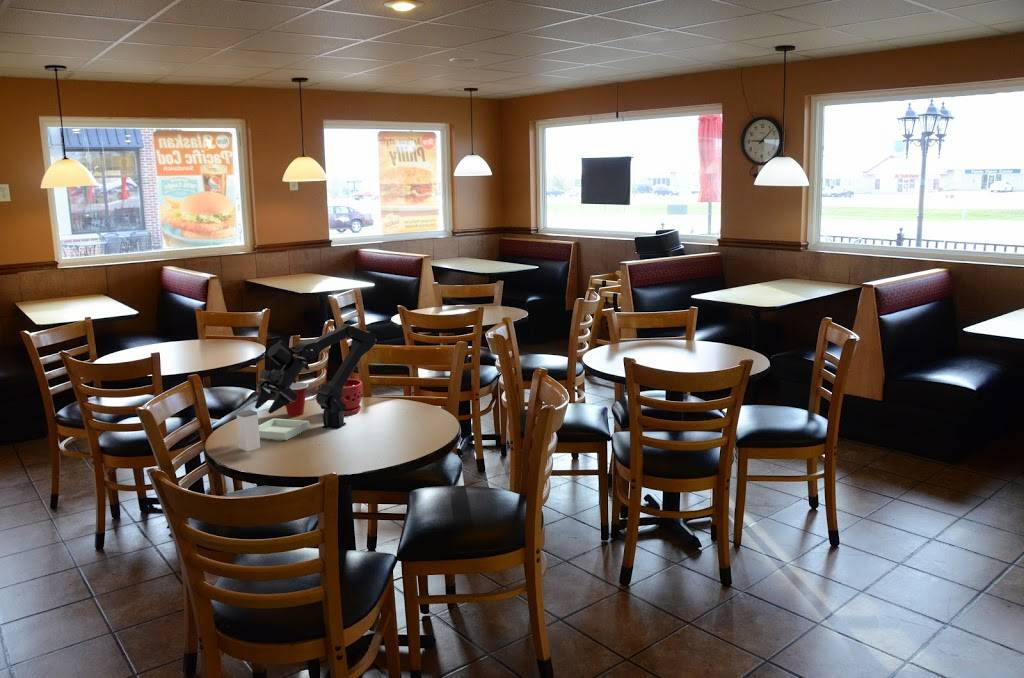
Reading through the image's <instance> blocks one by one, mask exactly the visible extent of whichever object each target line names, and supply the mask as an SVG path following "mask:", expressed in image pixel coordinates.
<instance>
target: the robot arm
mask: <svg viewBox="0 0 1024 678" xmlns="http://www.w3.org/2000/svg"><path fill="white" fill-rule="evenodd" d="M346 338H348V339H350V340H351V343H350V344H351V345H350V350H349V351H348V353H347V355H346V356H345V358H344V359H343V361H342V363H341V364H340V366H339V368H338V369H337V371H336V373H335V374H334V375H333V377H332V378H331V380H330V381H329V382H330V383H329V382H328V383H325V382H323V383H322V384H321V385H320V387H319V389H318V390H317V391H316V396H315V399H316V403H317V404H318V406H319V407H320V409H321V410H323V414H322V423H323V425H322V427H321V428H322V429H336V430H337V429H340V428H342V427H344V426H345V425H347V422H345V421H344V420H345V419H344V415H343V411H344V410H345V408H346V404H344V403H343V402H342V401H341V400H340V399H341V397H342V388H343V387H345V386H344V385H345V383H346V381H347V380H348V379H350V377H351V375H352V374H353V372H354V370H355V368H356V367H357V365H358V364H359V362H360V361H361V359H362V357H363V356H364V355H365V354H367V353H369V352H370V351H371V350H372V348H373V347H374V346H375V345H376V344H377V343H376V342H377V337H376V334H375V333H374V332H373V331H368V330H363V329H360V328H359V327H355V326H354V325H351V324H348V323H347V324H346V323H343V324H342V325H341V326H339V327H337V328H335V329H333V330H331V331H328V332H326V333H325V334H322V335H321V336H319V337H316V338H312V339H306V340H303V341H299V342H297V343H296V344H295V345H294V346H290V347H289V346H288V345H287V344H286V343H285V341H283V340H278V342H276V343H274V344H273V345H271V346H270V347H269V349H268V350H267V352H266V353H267V354H266V355H267V356H268V357H269V358H270V359H272V360H273V361H274V362H275V363H276V364H277V365H278V366H283V367H282V368H281V370H280V369H272V370H267V369H264V368H261V370H260V373H259V376H258V378H259V380H258V381H257V382H256V385H257V389H258V396H257V399H256V402H255V405H254V408H255V409H256V410H258V409H260V408H261V407H262V406H263V405H265V403H266V402H268V401H270V400H271V399H272V398H273V397H274V396H273V395H275V399H274V400H273V402H272V404H271V405H270V407H269V409H268V410H267V413H268V414H273V413H275V412H276V411H278V410H279V409H281V408H283V407H286V406H285V405H287V404H289V403H292V402H291V401H293V402H295V401H296V399H297V398H298V394H297V393H296V392H295V391H293V390H292V389H291V388H290V386H291V384H292V383H296V382H298V381H297V377H298V376H299V375H300V373H301V372H302V370H304V371H309V370H310V367H309V362H307V361H310V360H311V361H312V360H313V359H315V358H316V357H317V356H319V355H320V354H321V353H322V351H323V350H324V349H326V348H329V347H330V346H333V345H334V344H336V343H338V342H340V341H342V340H345V339H346ZM304 360H307V361H304Z"/></svg>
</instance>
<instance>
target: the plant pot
mask: <svg viewBox="0 0 1024 678" xmlns="http://www.w3.org/2000/svg"><path fill="white" fill-rule="evenodd" d="M330 382H331V381H329V382H328V383H330ZM362 397H363V381H361V380H359V379H356V378H355V379H354V378H348V380H347V381H346V383H345V385H344V386H343V388H342V397H341V399H340V400H341V401H342V402H343V403H344V404H346V408H345V410H344V411H343V416H347V415H348V416H350V415H354V414H357V413H358V412H360V410H361V408H362V407H361V401H362V399H363V398H362Z"/></svg>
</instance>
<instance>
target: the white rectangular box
mask: <svg viewBox="0 0 1024 678" xmlns="http://www.w3.org/2000/svg"><path fill="white" fill-rule="evenodd" d="M236 422H237V432H238V446H239V449H240V450H242V451H244V450H245V451H244V452H250V450H251V451H254V449H255V450H258V448H259V449H261V439H260V435H259V425H260V424H259V415H258V411H254V410H252V409H247V410H243V411H239V412H236Z"/></svg>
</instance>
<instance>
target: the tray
mask: <svg viewBox="0 0 1024 678" xmlns="http://www.w3.org/2000/svg"><path fill="white" fill-rule="evenodd" d="M310 427H311V426H310V420H299V419H286V418H271V419H269V420H267V421H265V422H263V423H261V424H259V435H260V438H265V439H264V440H270V439H275V440H274V441H282V440H287V441H288V439H289V440H290V438H291V439H293V438H294V437H296V436H298V435H300V434H302V433H303V431H304V432H305V430H306V431H307V429H308V430H309V428H310ZM301 432H302V433H301ZM299 433H300V434H299ZM297 434H298V435H297ZM292 437H293V438H292Z"/></svg>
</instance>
